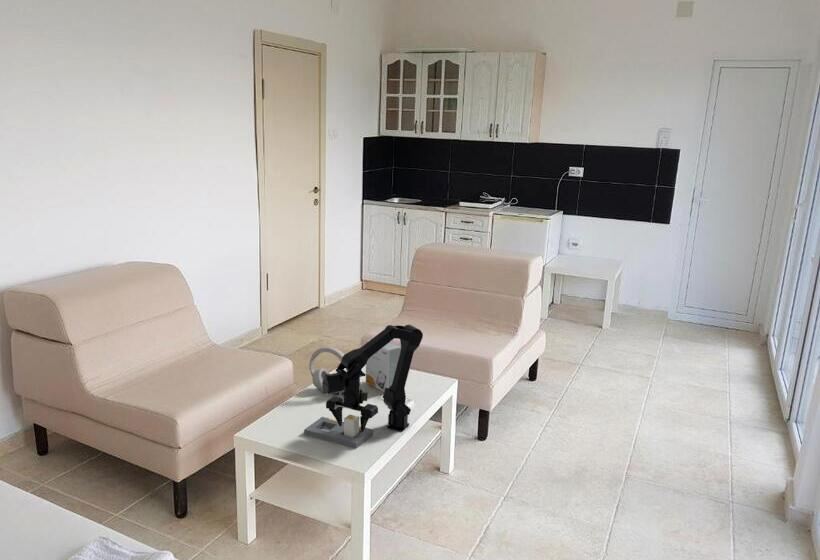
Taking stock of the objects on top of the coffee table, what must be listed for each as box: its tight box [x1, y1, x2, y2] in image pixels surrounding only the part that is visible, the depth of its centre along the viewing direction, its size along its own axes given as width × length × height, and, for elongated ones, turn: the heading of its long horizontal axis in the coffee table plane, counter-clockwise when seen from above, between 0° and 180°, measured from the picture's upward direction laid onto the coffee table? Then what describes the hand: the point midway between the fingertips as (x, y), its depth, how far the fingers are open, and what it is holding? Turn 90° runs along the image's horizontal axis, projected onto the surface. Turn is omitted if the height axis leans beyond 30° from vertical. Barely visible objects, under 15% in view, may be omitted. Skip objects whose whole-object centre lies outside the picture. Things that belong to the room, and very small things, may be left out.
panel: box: [303, 416, 374, 449], centre depth 235 cm, size 22×12×2 cm, turn 64°
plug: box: [343, 414, 360, 438], centre depth 232 cm, size 4×4×9 cm
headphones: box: [308, 345, 348, 395], centre depth 270 cm, size 19×8×20 cm, turn 66°
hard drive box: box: [365, 339, 401, 393], centre depth 277 cm, size 16×8×20 cm, turn 42°
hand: (351, 428), depth 233 cm, fingers open, 9 cm apart
